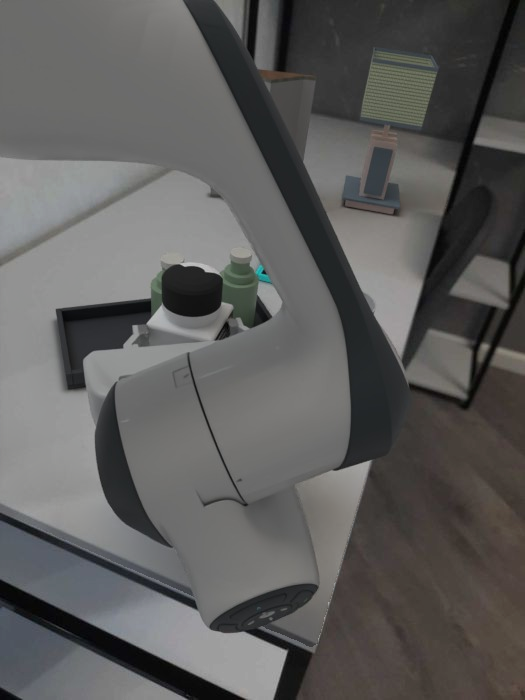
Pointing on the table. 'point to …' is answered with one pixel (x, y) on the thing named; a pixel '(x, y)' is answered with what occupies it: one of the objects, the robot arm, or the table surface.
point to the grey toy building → (290, 104)
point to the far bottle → (240, 285)
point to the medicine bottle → (190, 306)
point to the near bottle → (156, 283)
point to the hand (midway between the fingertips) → (186, 326)
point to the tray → (107, 330)
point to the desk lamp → (389, 122)
